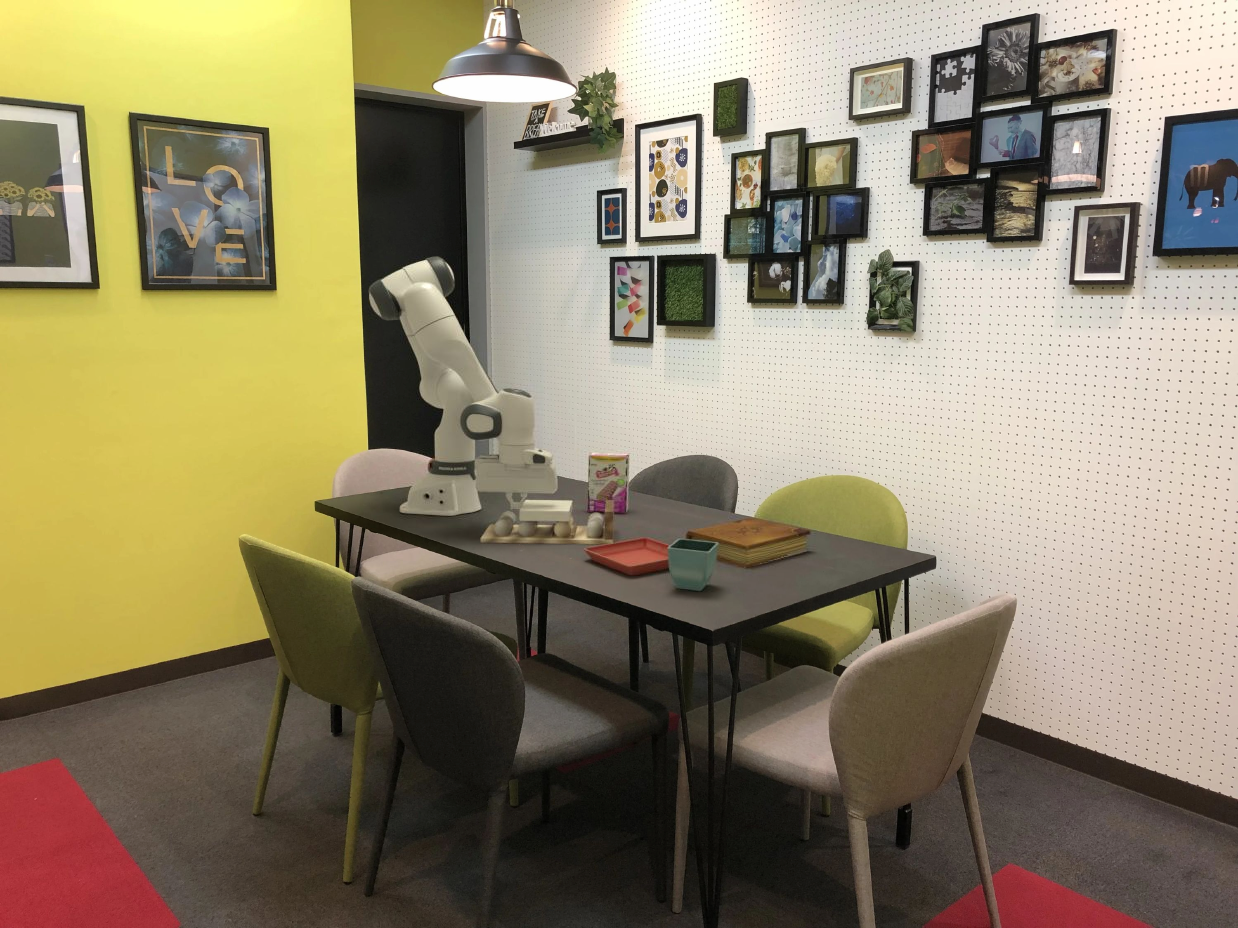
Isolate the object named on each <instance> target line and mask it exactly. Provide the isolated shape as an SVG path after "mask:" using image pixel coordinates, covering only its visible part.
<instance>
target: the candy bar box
mask: <svg viewBox="0 0 1238 928" xmlns="http://www.w3.org/2000/svg"><path fill="white" fill-rule="evenodd" d="M587 474H588V475H587V477H588V479H587V480H588V481H587V482H588V483H587V512H588V513H600V514H602V513H603V514H605V507H606V500H614V514H627V513H628V510H629V488H630V487H629V484H630V483H629V481H630V476H629V475H630V454H628V453H609V452H607V453H605V452H590V453H589V454H588V473H587Z"/></svg>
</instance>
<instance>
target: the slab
mask: <svg viewBox="0 0 1238 928" xmlns="http://www.w3.org/2000/svg"><path fill="white" fill-rule="evenodd" d="M518 511H519V521H520V522H522V521H539V522H557V521H569V520H570V516H571V515H572V514H573V513H572V512H573V500H566V499H565V500H561V499H560V500H556V499H555V500H553V499H545V500H544V499H525V500H524V502H523V505H522V507H521V509H520V510H518Z"/></svg>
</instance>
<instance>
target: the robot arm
mask: <svg viewBox="0 0 1238 928" xmlns="http://www.w3.org/2000/svg"><path fill="white" fill-rule="evenodd" d="M454 275H455V274H454V272H453V270H452V268H451V266H450V265H449V264H448V263H447V262H446V261H445V260H444V259H443V258H442V257H441V256H431V257H426V258H425V260H421V261H416V262H415V263H411V264H409V265H406V266H403V267H402V268H401V269H399V270H396V271H394V272H392V273H390V274H389V275H386V276H385V277H383V278H381V279H377V280H376V281H375V282H373V283H372V284H371V285H370V286H369V288H368V293H369V295H368V296H369V297H368V299H369V303H370V306H371V308H372V309H373V311H374V312H375V313H376V315H378V316H379V317H380V318H381V319H382V320H385V321H394V320H397V321H398V320H399V321H400V323H401V326H402V328H403V331H404V333H405V335H406V337H407V339H408V342H409V344H410V347H411V348H412V351H413V353H414V355H415V357H416V360H417V362H418V367H419V371H420V372H419V373H420V377H421V380H420V382H419V393H420V396H421V398H422V399H423V400H424V401H425V402H426V403H428V404H429V405H431V406H432V407H435V408H437V409H443V413H442V417H441V420H440V423H439V425H438V427H437V428H436V430H435V432H434V458H431V459H430V460H429V461H428V462H427V471H428V473H426V475H423V476H422V477H421V478H420V479H419V480H417V481H416V482H415V483H414V484H413V485H412V486H411V487H410V488H409V491H408V495H407V501H405V502H403V503H401V505H400V506H399V512H400V513H403V514H410V515H411V514H413V515H414V514H415V515H429V516H430V515H432V516H450V517H451V516H458V515H462V514H468V513H469V514H470V513H474V512H477V511H480V510H481V509H482V504H481V502H480V496H479V493H505V497H506V499H507V501H508V503H509V504H510V511H520V509H521V507H522V505H523V503H524V502H525V500H526V498H527V497H528V494H554V493H555V492H557V490H558V487H559V486H558V485H559V484H558V483H559V482H558V474H557V469H556V468H557V467H556V465H555V464H554V463H553V454H552V453H551V452H550V451H547V450H544V449H542V448H538V447H536V446H535V438H534V430H535V421H536V420H535V419H536V418H535V404H534V400H533V396H532V395H531V394H530V393H529V392H527V391H525V390H522V389H518V388H509V387H507V388H502V389H501V390H500V391H498V390H497V388H496V387H495V385H494V383H493V381H492V380H491V378H490V376H489V375H488V372H487V371H486V369H485V367H484V366H483V364H482V362H481V361H480V359H479V358H478V356H477V354H476V353H475V351H474V349H473V348H472V346H471V344H470V343H469V340H468V339H467V337H466V335H465V333H464V332H465V331H464V330H463V329H462V326H461V324H460V323H459V320H458V318H457V317H456V315H455V313H454V311H453V309H452V308H451V306H450V304H449V302H448V301H447V299H446V297H448V296H449V295H450V294H451V293H452V292H453V291H454V289H455V286H456V284H455V276H454ZM491 439H497V440H498V454H495V453H493V454H486V453H483V454H480V455H479V456H477V457H476V441H480V442H482V441H483V442H484V441H487V440H491ZM478 492H479V493H478ZM514 493H515V494H516V493H520V498H521V500H519V501H514V499H513V497H512V496H513V494H514Z"/></svg>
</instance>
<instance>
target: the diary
mask: <svg viewBox="0 0 1238 928" xmlns="http://www.w3.org/2000/svg"><path fill="white" fill-rule="evenodd" d="M808 535H811V530H809V529H805V528H801V527H797V526H792V525H787V524H782V523H778V522H774V521H769V520H765V519H760V518H757V517H756V518H755V517H749V518H744V519H739V520H735V521H730V522H729V521H728V522H726V523H721V524H716V525H711V526H706V527H702V528H697V529H692V530H688V531H687V533H686V534H685V539H689V540H699V541H708V542H717V543H719V545H718V552H717V558H716V561H718V560H719V562H723V563H726V564H729V563H730V565H733V564H734V565H733V566H737V565H738V567H740V566H741V567H742V568H744V567H745V569H748V567H749V568H752V567H751V566H753V567H755V566H754V565H757V566H759V565H758V564H760V563H764V562H767V561H770V560H774V559H777V558H781V557H782V556H783V557H784V556H787V554H790V553H794V552H797V551H801V550H804V549H807V536H808ZM764 564H765V563H764ZM760 565H761V564H760Z"/></svg>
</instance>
